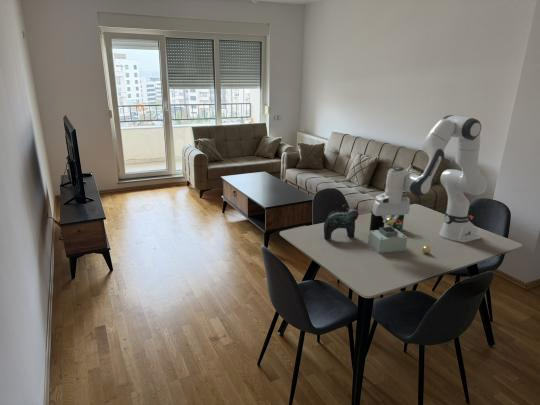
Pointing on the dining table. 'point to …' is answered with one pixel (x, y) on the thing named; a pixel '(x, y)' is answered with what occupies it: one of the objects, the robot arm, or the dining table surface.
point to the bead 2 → (426, 250)
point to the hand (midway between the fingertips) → (389, 222)
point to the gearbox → (387, 240)
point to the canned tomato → (398, 222)
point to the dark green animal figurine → (341, 222)
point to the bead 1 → (389, 221)
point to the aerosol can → (376, 222)
